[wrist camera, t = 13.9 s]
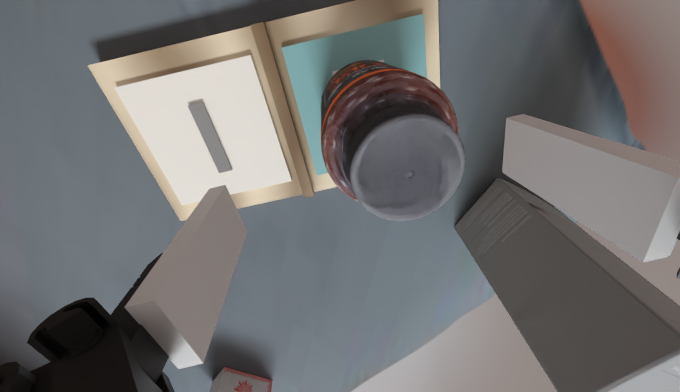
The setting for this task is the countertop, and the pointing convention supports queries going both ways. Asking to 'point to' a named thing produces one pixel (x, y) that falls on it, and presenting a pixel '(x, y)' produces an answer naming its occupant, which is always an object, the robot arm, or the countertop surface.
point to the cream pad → (209, 128)
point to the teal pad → (340, 50)
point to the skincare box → (573, 297)
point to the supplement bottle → (390, 140)
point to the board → (263, 81)
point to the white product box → (239, 382)
